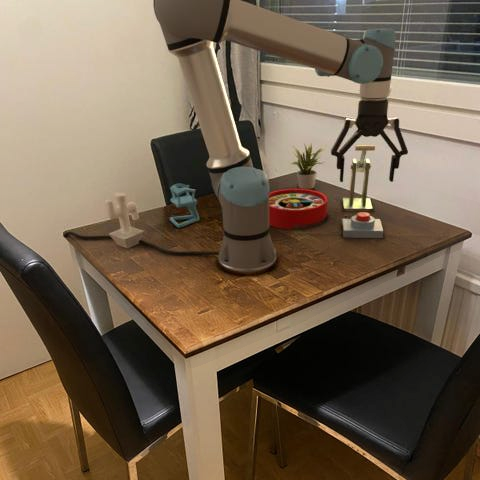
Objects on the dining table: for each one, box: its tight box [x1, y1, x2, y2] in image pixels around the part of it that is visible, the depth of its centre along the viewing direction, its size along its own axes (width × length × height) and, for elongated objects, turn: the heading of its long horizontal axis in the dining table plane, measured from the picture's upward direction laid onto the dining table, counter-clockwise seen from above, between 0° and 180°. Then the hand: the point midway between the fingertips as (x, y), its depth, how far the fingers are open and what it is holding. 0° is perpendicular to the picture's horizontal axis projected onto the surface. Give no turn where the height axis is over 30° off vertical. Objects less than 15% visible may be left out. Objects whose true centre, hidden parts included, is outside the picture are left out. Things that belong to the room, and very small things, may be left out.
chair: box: [169, 182, 200, 229], centre depth 153 cm, size 8×8×12 cm
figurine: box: [105, 191, 145, 249], centre depth 139 cm, size 7×9×15 cm
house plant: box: [291, 143, 327, 190], centre depth 172 cm, size 14×14×16 cm
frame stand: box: [342, 158, 373, 210], centre depth 157 cm, size 10×9×15 cm
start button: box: [356, 211, 371, 221], centre depth 141 cm, size 4×4×2 cm
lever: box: [354, 144, 376, 173], centre depth 149 cm, size 13×6×2 cm
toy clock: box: [269, 188, 328, 230], centre depth 154 cm, size 20×6×20 cm
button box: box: [341, 214, 384, 239], centre depth 143 cm, size 11×9×4 cm
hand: (365, 180), depth 138 cm, fingers open, 13 cm apart
